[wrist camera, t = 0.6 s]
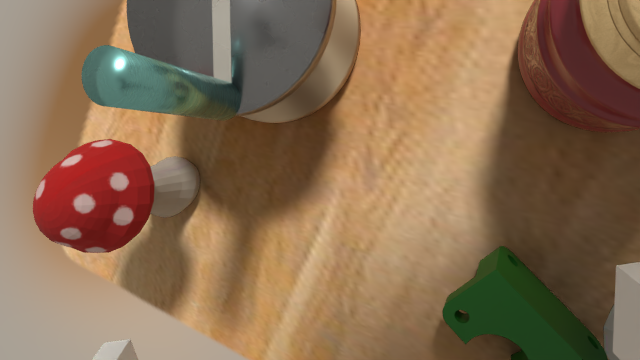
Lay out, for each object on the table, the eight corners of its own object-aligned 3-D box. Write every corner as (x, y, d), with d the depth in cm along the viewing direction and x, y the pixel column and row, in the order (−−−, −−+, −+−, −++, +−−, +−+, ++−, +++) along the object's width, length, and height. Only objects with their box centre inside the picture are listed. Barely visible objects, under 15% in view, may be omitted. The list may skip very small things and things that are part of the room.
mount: (305, -90, 38) (294, -110, 35) (393, 61, 37) (389, 54, 34) (174, 15, 42) (155, 6, 40) (249, 153, 41) (235, 154, 38)
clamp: (468, 279, 41) (422, 291, 34) (519, 243, 38) (480, 248, 31) (557, 405, 35) (522, 449, 28) (625, 374, 32) (604, 415, 25)
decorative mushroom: (179, 122, 43) (47, 109, 29) (234, 182, 42) (125, 200, 28) (124, 189, 46) (-21, 208, 31) (175, 248, 44) (47, 296, 30)
